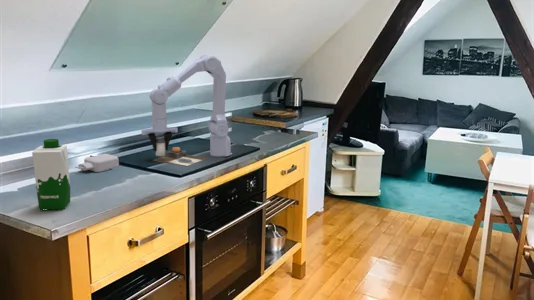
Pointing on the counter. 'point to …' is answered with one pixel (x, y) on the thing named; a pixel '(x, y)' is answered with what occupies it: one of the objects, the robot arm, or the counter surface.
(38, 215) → the counter surface
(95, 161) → the charger
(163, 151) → the salt shaker
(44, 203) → the milk carton
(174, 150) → the button
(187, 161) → the board
